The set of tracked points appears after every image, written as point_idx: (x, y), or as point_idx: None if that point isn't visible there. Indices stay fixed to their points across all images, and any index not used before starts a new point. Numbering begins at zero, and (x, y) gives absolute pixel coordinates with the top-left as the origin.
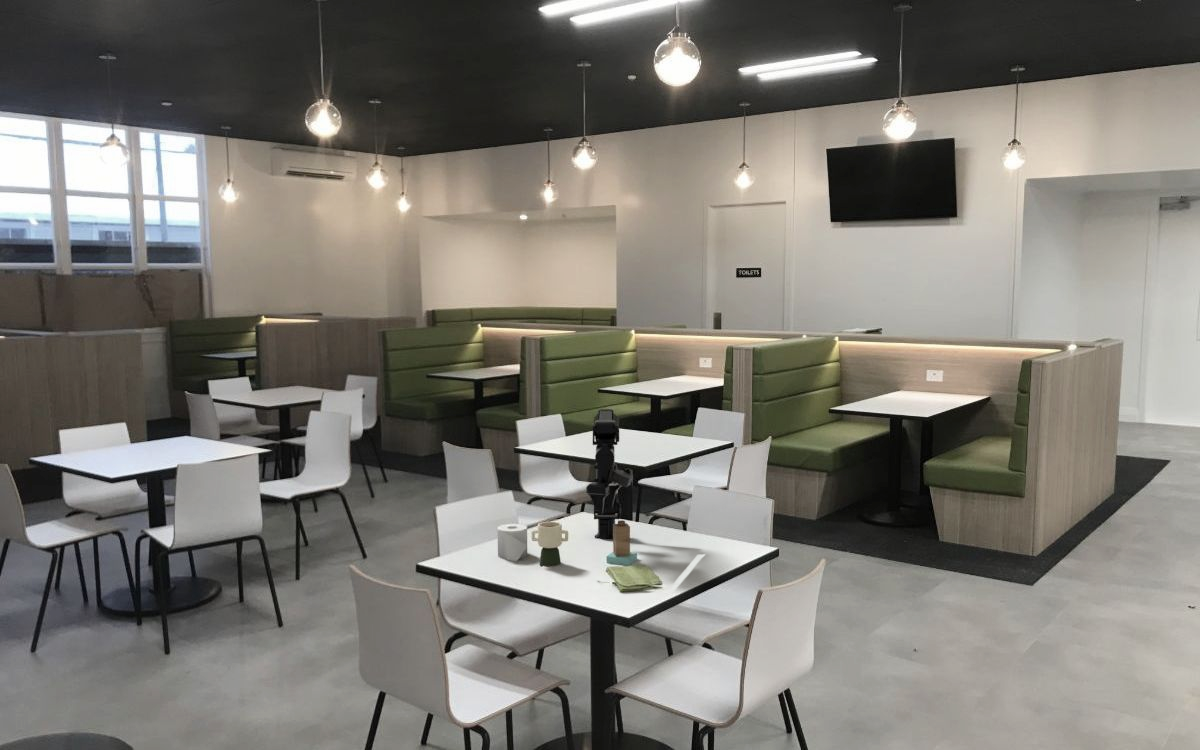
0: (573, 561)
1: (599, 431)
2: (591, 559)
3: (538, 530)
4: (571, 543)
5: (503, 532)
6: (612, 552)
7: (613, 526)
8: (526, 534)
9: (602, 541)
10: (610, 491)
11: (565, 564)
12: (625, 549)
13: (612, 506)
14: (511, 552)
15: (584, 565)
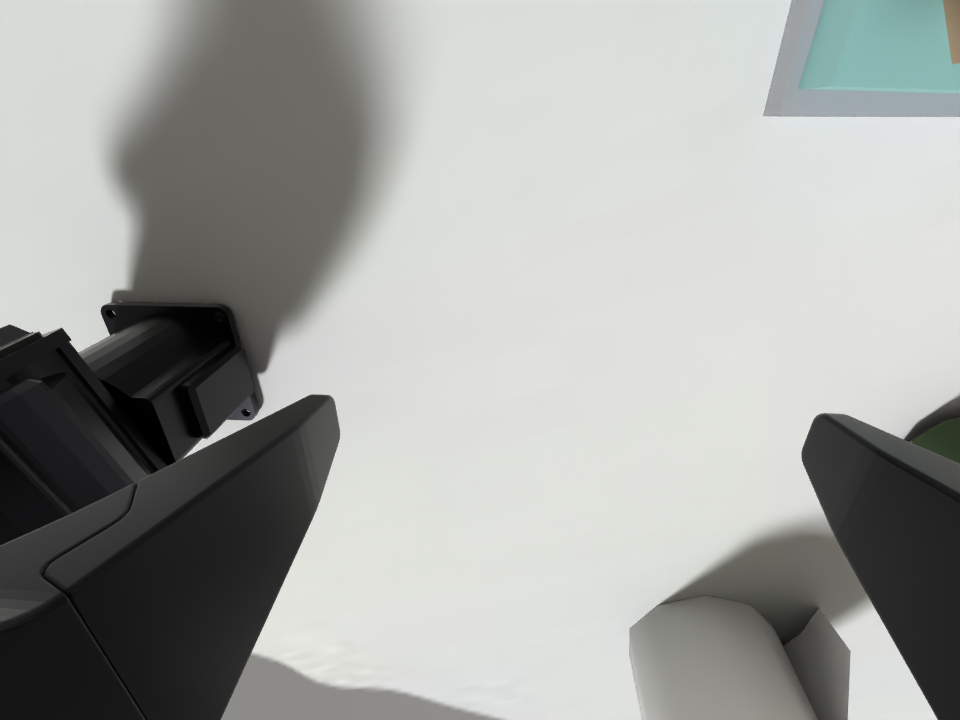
0: (808, 376)
1: None
2: (750, 284)
3: None
4: (424, 486)
5: None
6: (923, 83)
7: None
8: (756, 716)
9: (305, 349)
10: (113, 704)
11: (882, 399)
12: None
13: (305, 400)
14: (820, 666)
15: (914, 283)
